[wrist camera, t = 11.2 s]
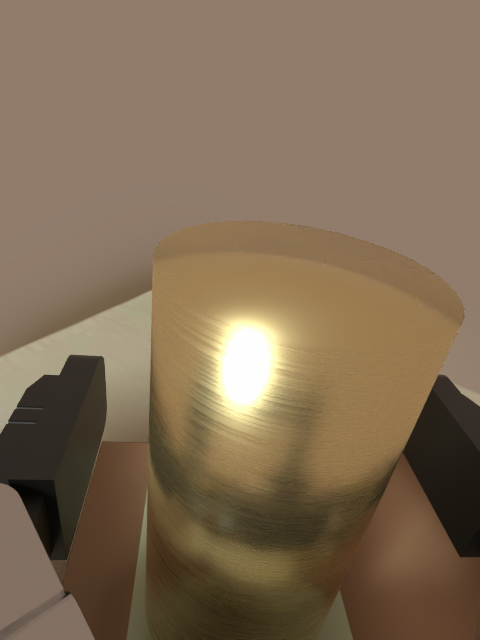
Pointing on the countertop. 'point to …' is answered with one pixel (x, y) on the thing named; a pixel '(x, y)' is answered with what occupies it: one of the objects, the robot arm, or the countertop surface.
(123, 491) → the plank
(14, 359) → the countertop surface
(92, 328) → the countertop surface
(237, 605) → the cylinder
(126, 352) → the countertop surface
